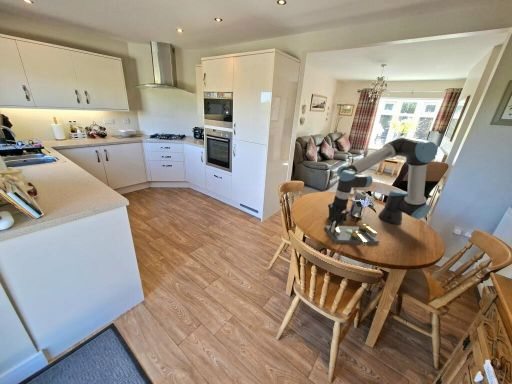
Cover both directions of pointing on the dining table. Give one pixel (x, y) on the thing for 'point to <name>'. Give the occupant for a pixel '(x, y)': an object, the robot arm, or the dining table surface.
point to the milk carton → (354, 206)
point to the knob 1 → (336, 230)
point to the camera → (337, 214)
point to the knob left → (358, 237)
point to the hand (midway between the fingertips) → (332, 231)
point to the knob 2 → (367, 229)
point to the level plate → (346, 235)
